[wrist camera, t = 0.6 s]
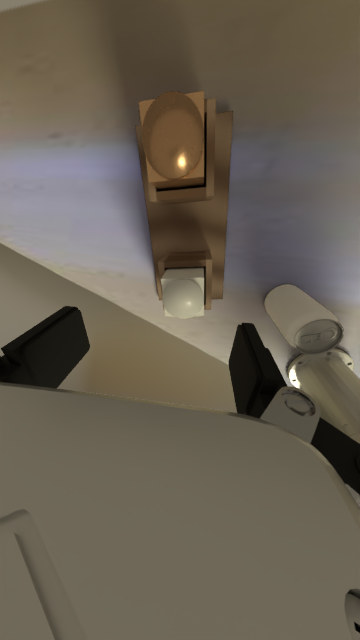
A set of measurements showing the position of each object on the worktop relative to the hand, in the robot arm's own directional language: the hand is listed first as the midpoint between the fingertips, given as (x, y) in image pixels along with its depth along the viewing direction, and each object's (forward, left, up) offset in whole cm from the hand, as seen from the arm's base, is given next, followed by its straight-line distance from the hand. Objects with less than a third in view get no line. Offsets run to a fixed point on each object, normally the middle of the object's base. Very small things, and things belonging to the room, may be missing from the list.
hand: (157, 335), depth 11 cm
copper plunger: (+11, 0, -18) cm, 22 cm away
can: (-9, -17, -24) cm, 31 cm away
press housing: (+4, 0, -24) cm, 24 cm away
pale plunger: (-3, 0, -18) cm, 19 cm away
